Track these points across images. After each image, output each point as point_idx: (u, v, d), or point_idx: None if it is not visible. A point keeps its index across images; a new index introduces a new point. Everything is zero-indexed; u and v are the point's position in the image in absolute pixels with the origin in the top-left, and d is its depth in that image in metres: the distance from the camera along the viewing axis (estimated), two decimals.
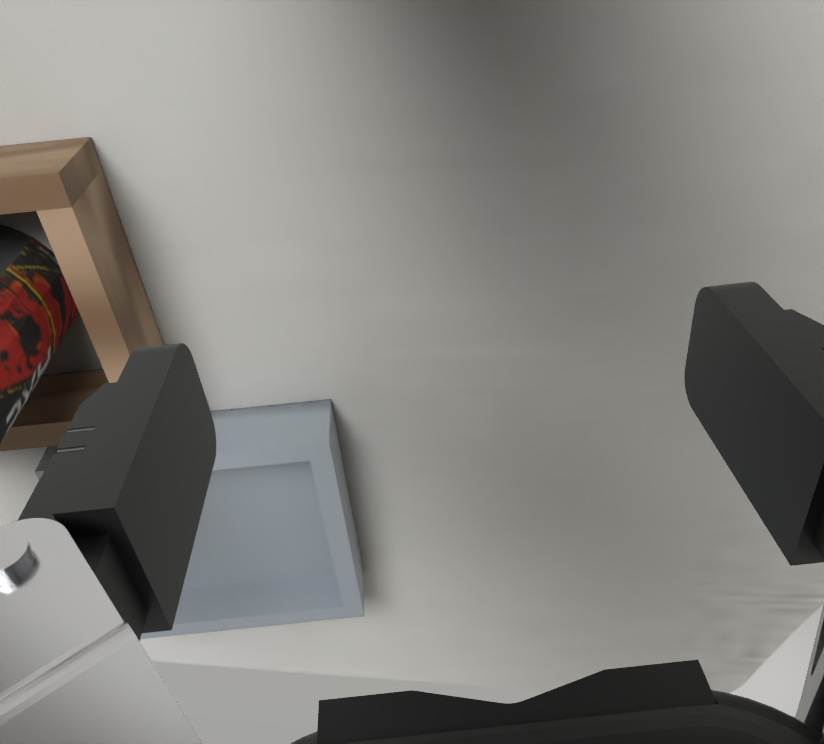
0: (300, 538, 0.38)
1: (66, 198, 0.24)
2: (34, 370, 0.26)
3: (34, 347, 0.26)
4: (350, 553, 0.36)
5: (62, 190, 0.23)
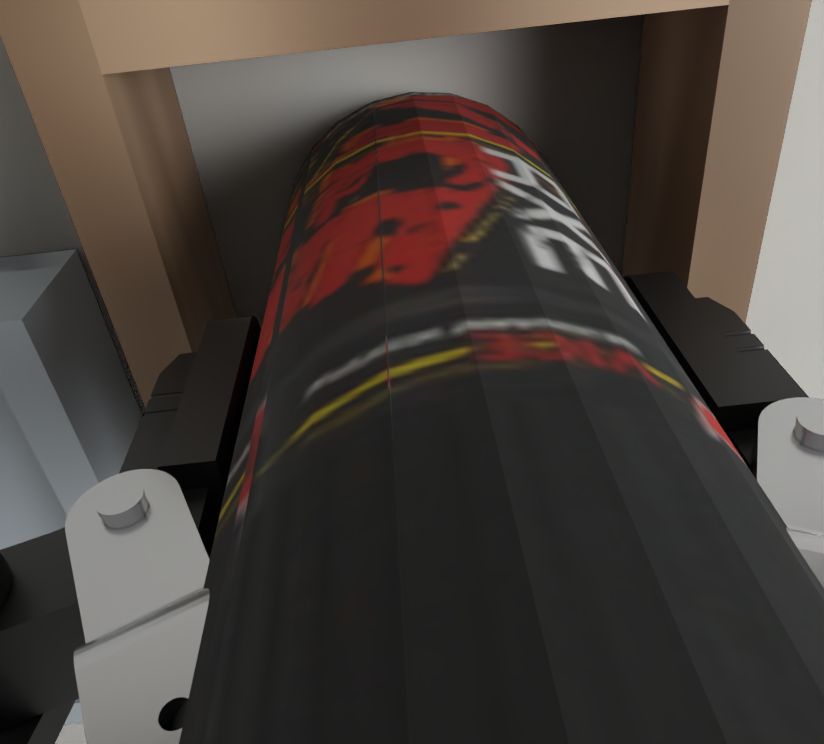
0: None
1: None
2: None
3: None
4: None
5: None
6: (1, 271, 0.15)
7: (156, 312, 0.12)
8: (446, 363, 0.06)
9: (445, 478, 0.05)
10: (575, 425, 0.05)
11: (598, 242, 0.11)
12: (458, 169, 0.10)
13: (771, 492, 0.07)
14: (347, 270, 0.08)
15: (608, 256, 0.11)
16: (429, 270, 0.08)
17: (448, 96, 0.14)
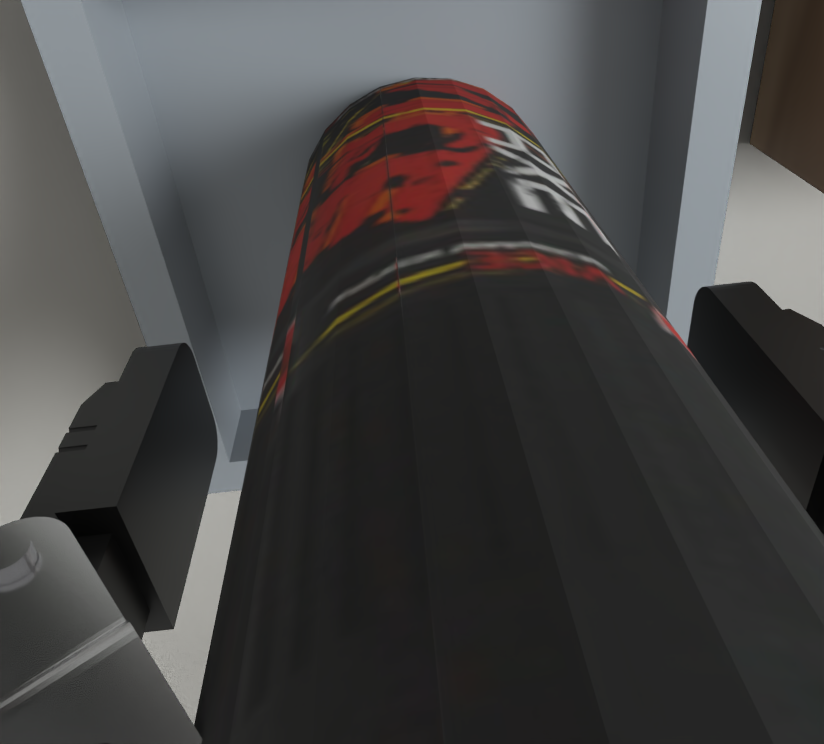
0: None
1: None
2: None
3: None
4: None
5: None
6: None
7: None
8: (446, 273, 0.07)
9: (445, 345, 0.06)
10: (548, 311, 0.07)
11: None
12: (457, 135, 0.12)
13: None
14: (361, 215, 0.10)
15: (590, 213, 0.12)
16: (431, 210, 0.09)
17: (447, 80, 0.15)
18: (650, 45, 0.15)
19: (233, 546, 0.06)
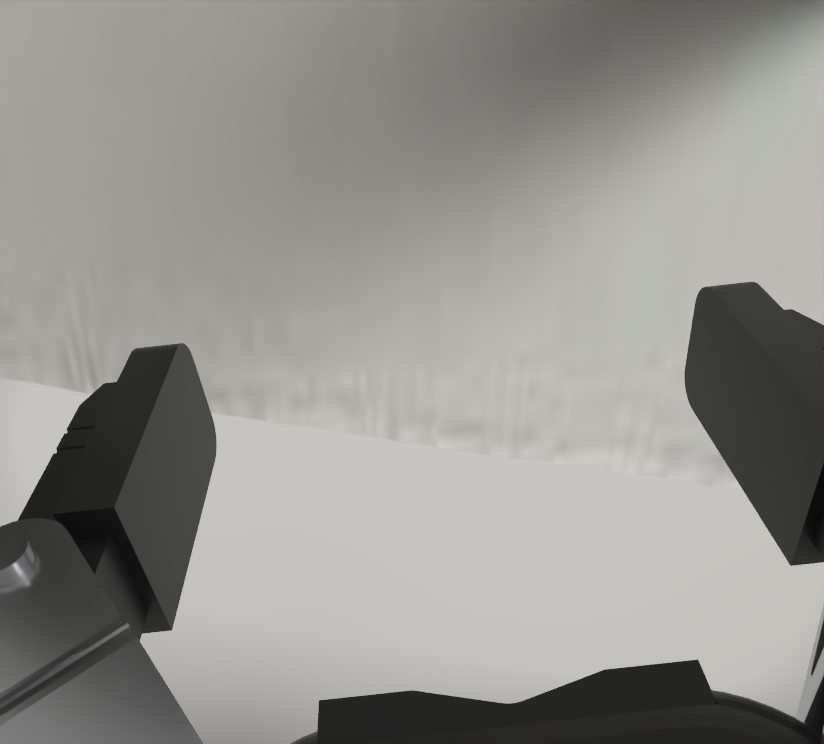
0: None
1: None
2: None
3: None
4: None
5: None
6: None
7: None
8: None
9: None
10: None
11: None
12: None
13: None
14: None
15: None
16: None
17: None
18: None
19: None
